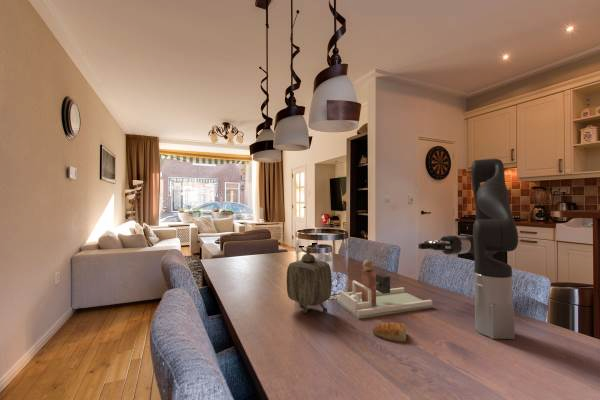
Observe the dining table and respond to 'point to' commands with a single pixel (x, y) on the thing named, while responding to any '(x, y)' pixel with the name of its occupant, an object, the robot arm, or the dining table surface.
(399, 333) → the pastry
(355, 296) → the ball
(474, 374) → the dining table surface
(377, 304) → the pitch
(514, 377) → the dining table surface
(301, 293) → the tabletop clock
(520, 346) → the dining table surface
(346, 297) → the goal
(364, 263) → the striker
